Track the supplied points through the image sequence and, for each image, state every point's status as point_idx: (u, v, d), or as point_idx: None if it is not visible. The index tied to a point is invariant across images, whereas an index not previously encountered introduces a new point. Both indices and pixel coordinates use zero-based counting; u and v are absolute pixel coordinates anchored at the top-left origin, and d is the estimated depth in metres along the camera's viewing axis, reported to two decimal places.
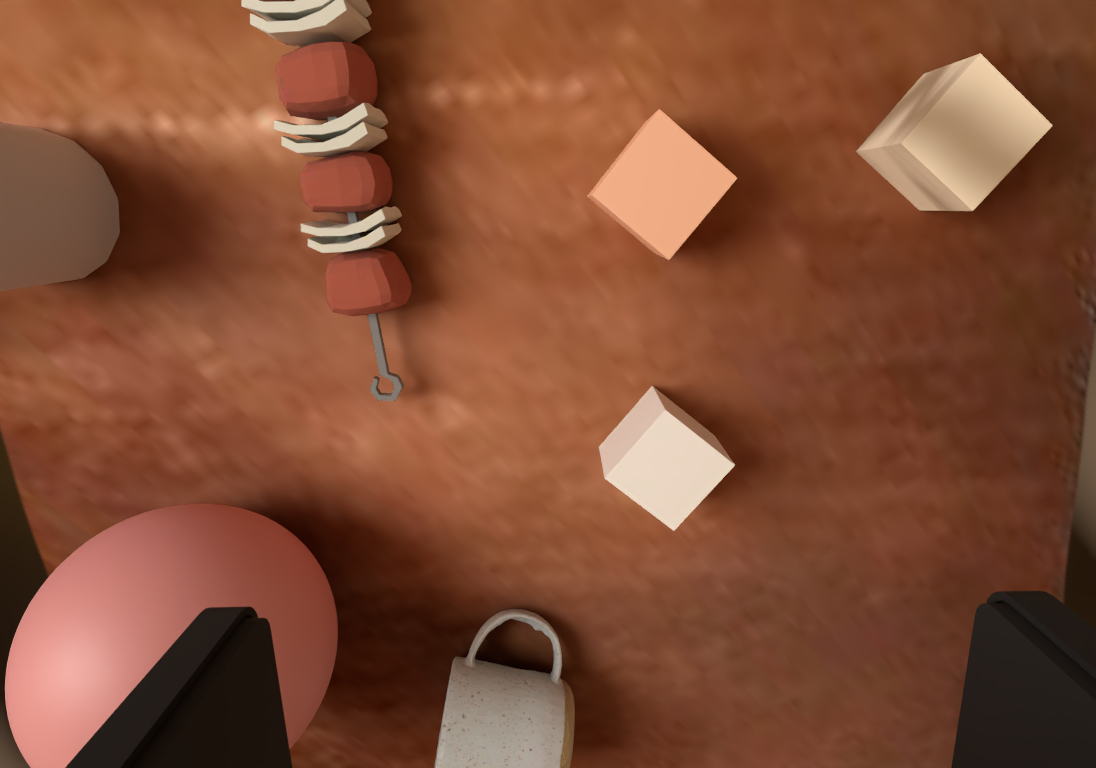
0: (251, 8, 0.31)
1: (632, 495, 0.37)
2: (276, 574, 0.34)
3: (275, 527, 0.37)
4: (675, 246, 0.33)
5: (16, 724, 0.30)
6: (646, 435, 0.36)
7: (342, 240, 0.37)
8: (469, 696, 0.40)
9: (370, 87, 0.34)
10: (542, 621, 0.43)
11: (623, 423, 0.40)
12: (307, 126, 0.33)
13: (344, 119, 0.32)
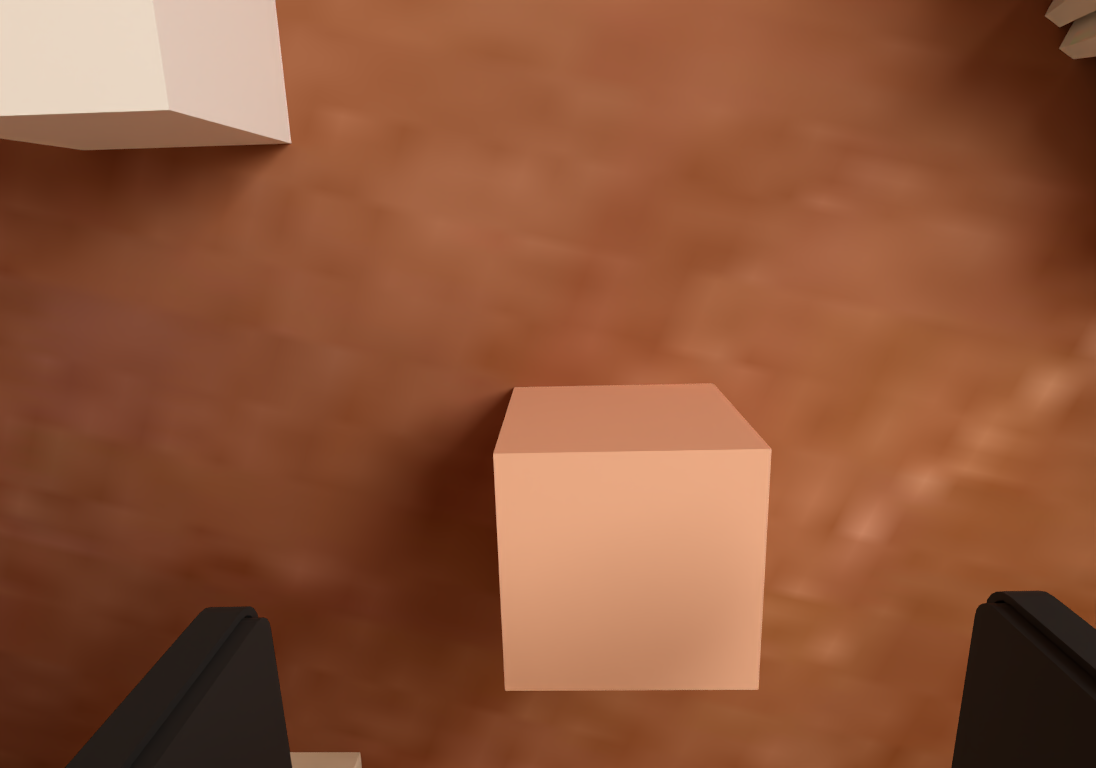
0: None
1: None
2: None
3: None
4: (505, 489, 0.12)
5: None
6: None
7: None
8: None
9: None
10: None
11: (262, 1, 0.14)
12: None
13: None
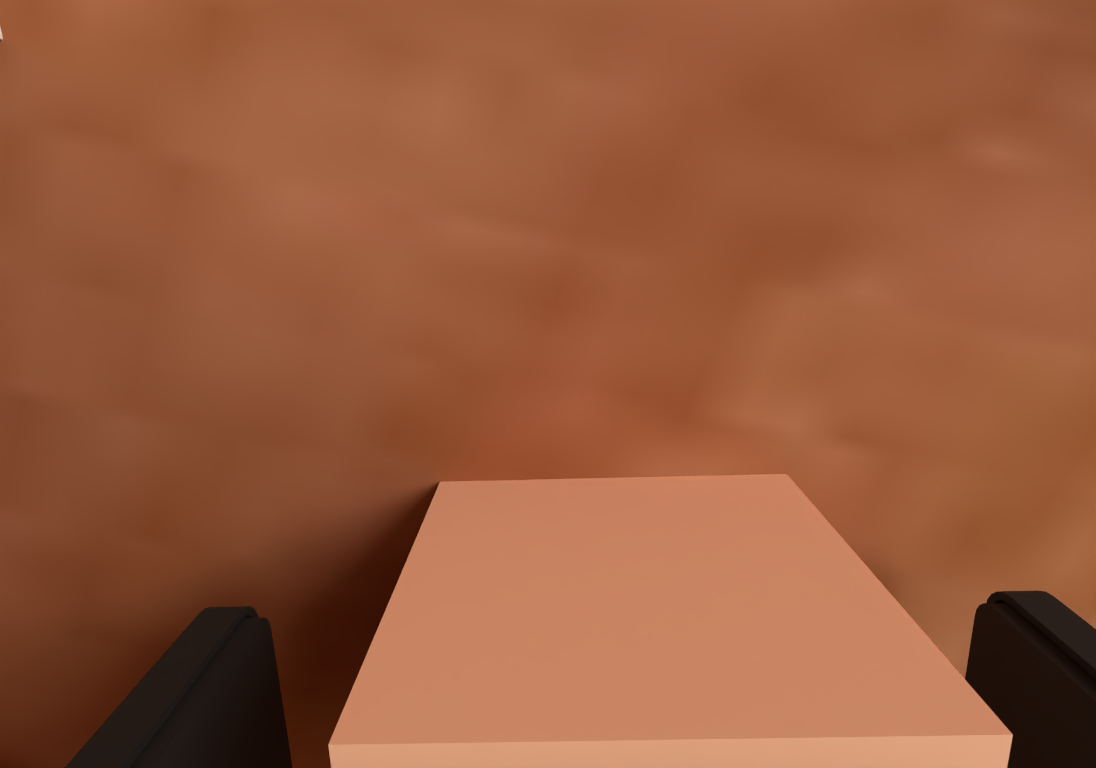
0: None
1: None
2: None
3: None
4: None
5: None
6: None
7: None
8: None
9: None
10: None
11: None
12: None
13: None
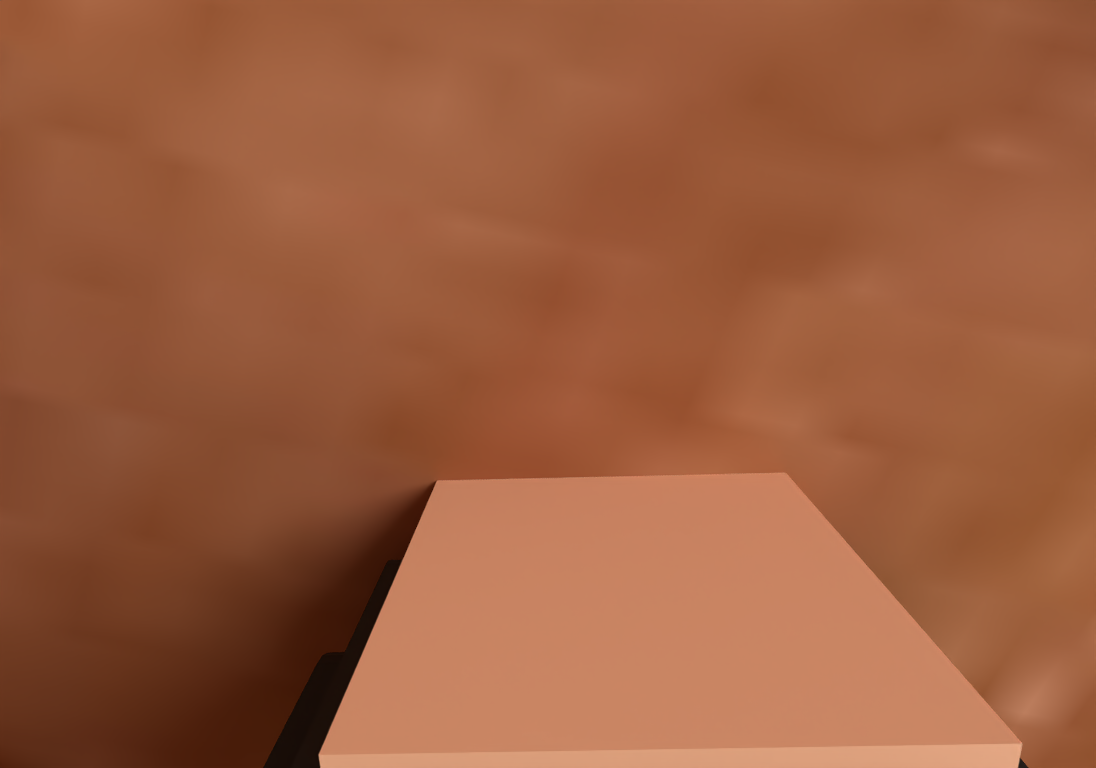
0: None
1: None
2: None
3: None
4: None
5: None
6: None
7: None
8: None
9: None
10: None
11: None
12: None
13: None
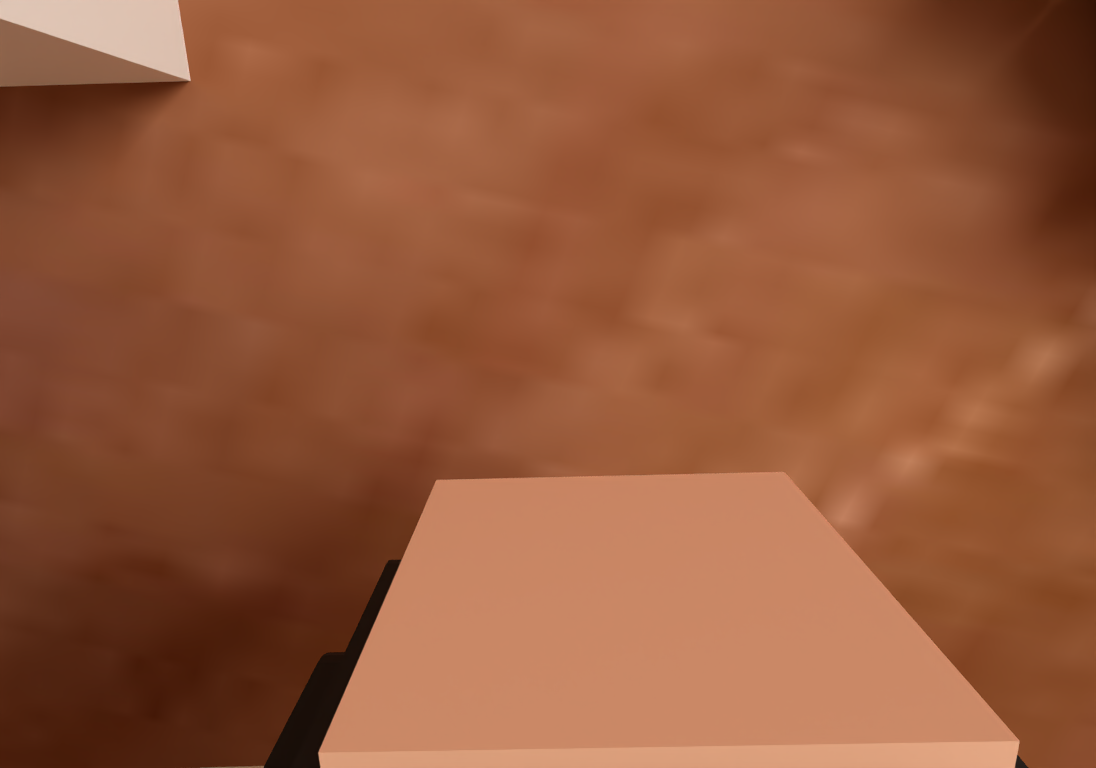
0: None
1: None
2: None
3: None
4: None
5: None
6: None
7: None
8: None
9: None
10: None
11: None
12: None
13: None
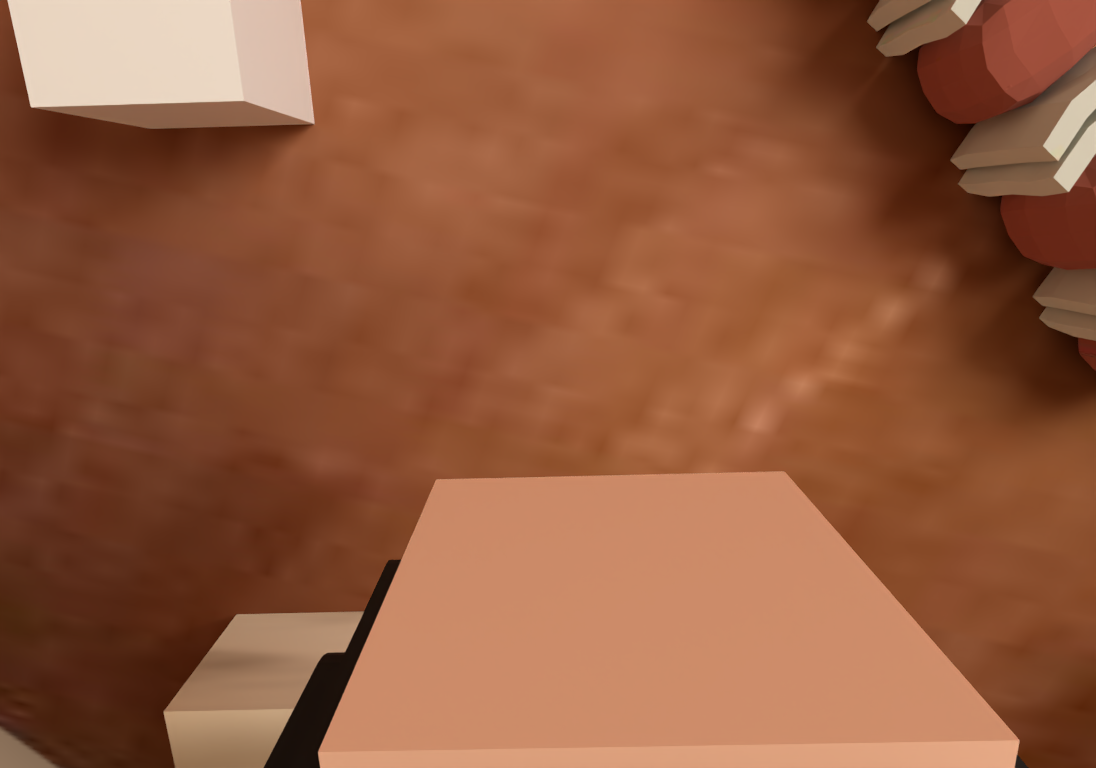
0: None
1: None
2: None
3: None
4: None
5: None
6: (224, 19, 0.15)
7: None
8: None
9: (1032, 220, 0.19)
10: None
11: (293, 15, 0.19)
12: None
13: (1094, 143, 0.17)
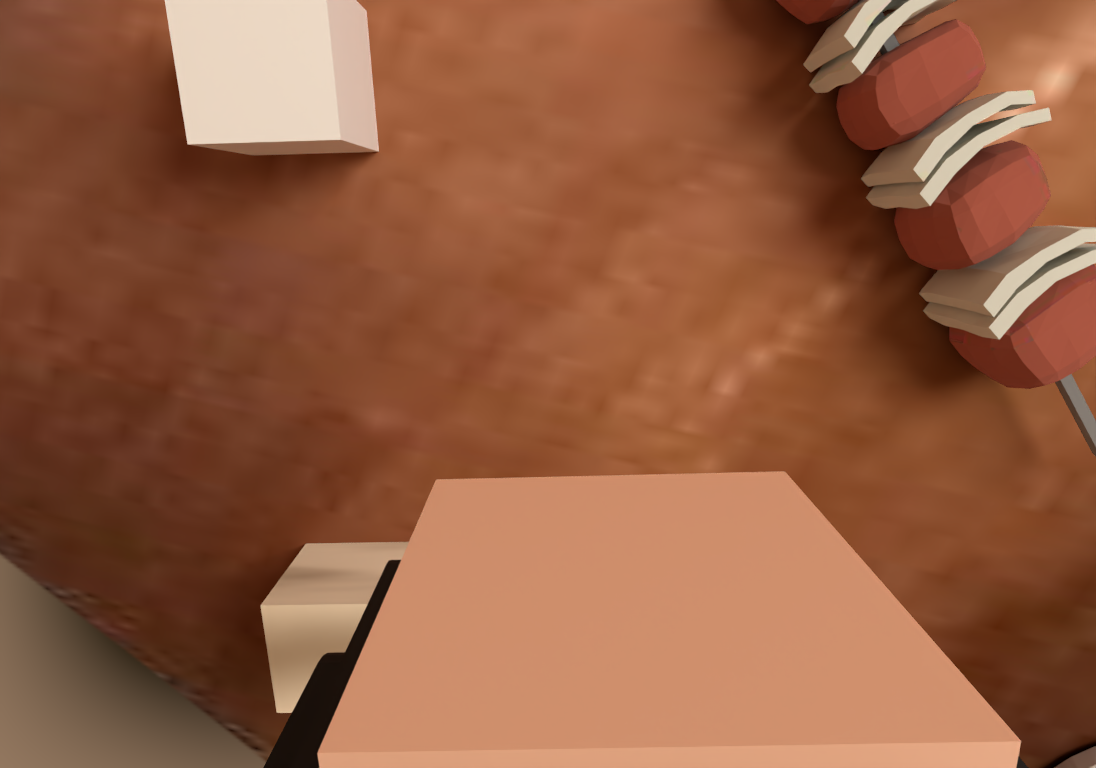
0: None
1: None
2: None
3: None
4: None
5: None
6: (329, 82, 0.21)
7: None
8: None
9: (912, 228, 0.25)
10: None
11: (367, 71, 0.25)
12: (1001, 135, 0.22)
13: (950, 171, 0.22)
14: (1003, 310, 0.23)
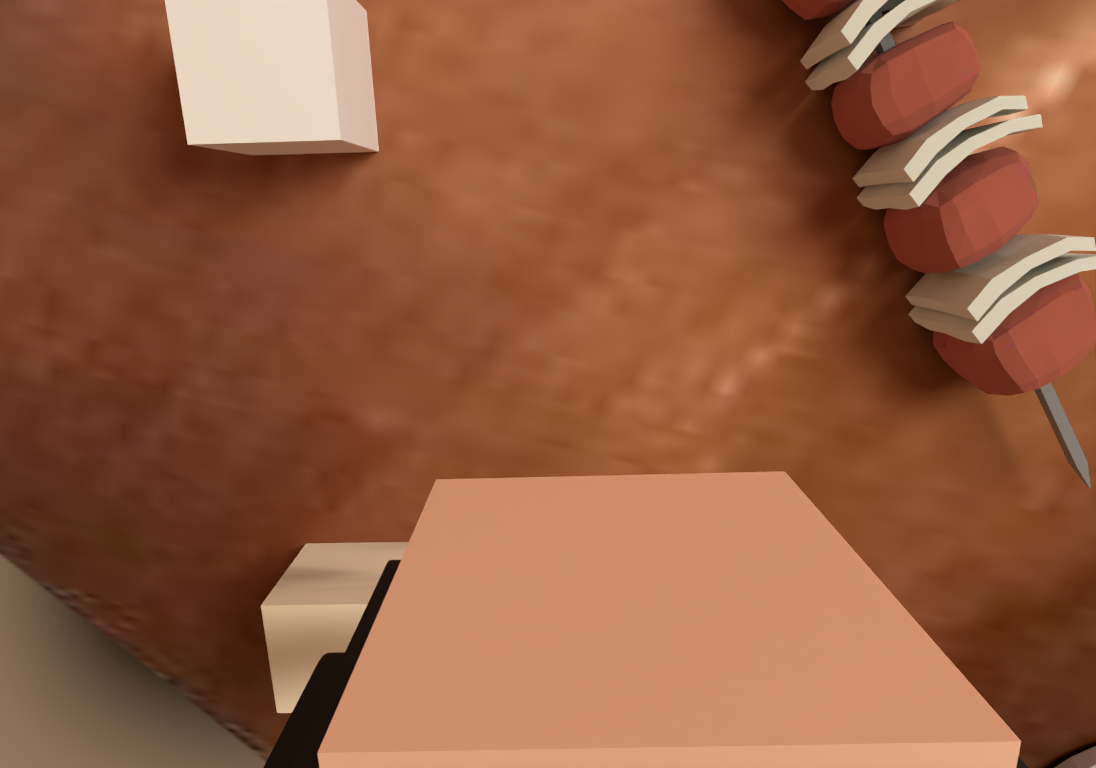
0: (1094, 256, 0.23)
1: None
2: None
3: None
4: None
5: None
6: (329, 82, 0.21)
7: (889, 0, 0.24)
8: None
9: (901, 230, 0.25)
10: None
11: (367, 71, 0.25)
12: (992, 139, 0.22)
13: (940, 172, 0.22)
14: (987, 315, 0.23)
